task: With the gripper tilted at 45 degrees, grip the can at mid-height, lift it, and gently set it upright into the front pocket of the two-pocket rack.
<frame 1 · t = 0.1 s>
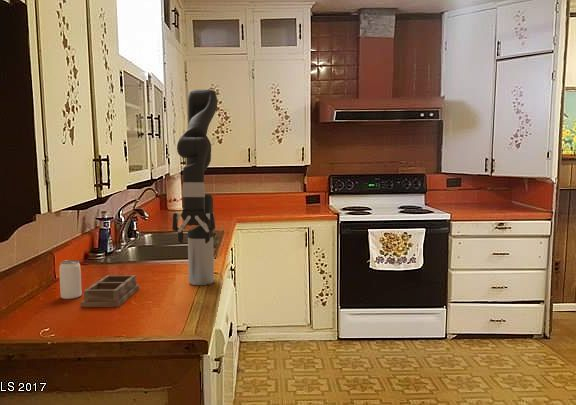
hand: (194, 243, 165), 17 cm above the counter, tool pointing down, fingers open, 8 cm apart
can: (71, 297, 163), on the counter
rack: (111, 297, 162), on the counter
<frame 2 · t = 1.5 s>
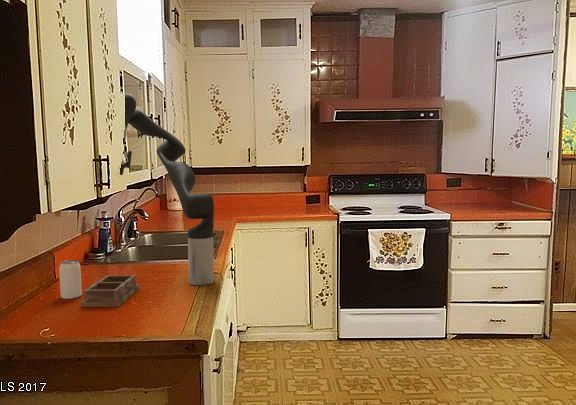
hand: (106, 172, 164), 42 cm above the counter, tool tilted 40°, fingers open, 8 cm apart
nothing on the counter moved.
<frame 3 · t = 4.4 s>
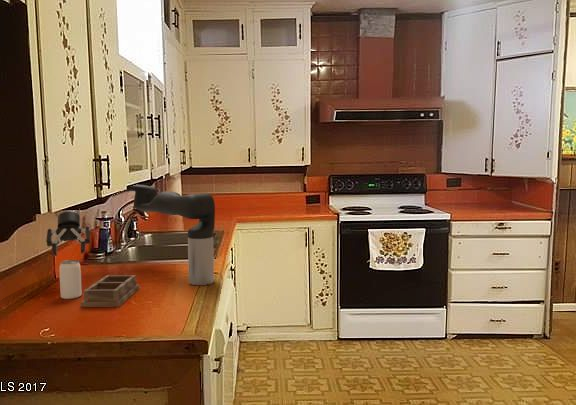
hand: (68, 253, 169), 13 cm above the counter, tool tilted 45°, fingers open, 8 cm apart
nothing on the counter moved.
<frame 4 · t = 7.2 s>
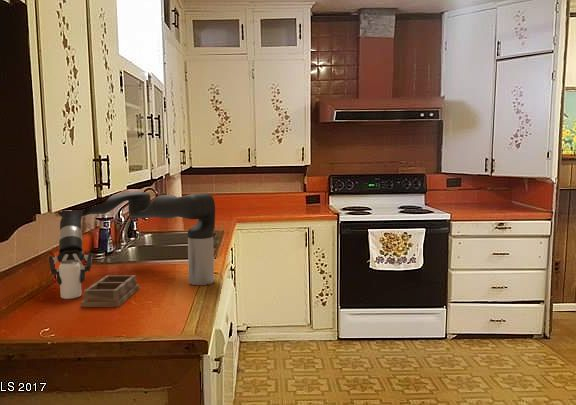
hand: (71, 282, 161), 5 cm above the counter, tool tilted 45°, fingers closed on can, 6 cm apart
can: (71, 297, 163), on the counter, touching gripper
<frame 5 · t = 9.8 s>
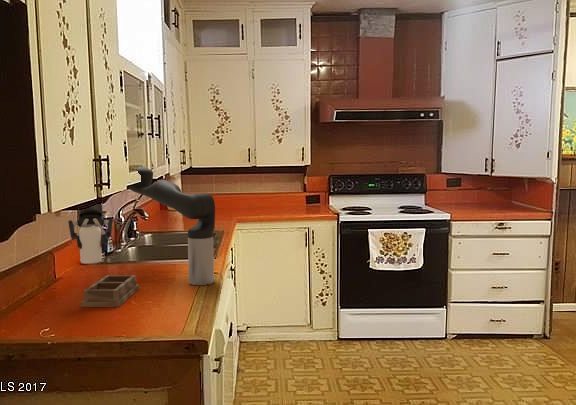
hand: (91, 246, 155), 18 cm above the counter, tool tilted 45°, fingers closed on can, 6 cm apart
can: (91, 262, 157), point 13 cm above the counter, touching gripper
when the fingers open (9 cm above the counter, at t = 12.5 s): can drops 2 cm, resting on rack.
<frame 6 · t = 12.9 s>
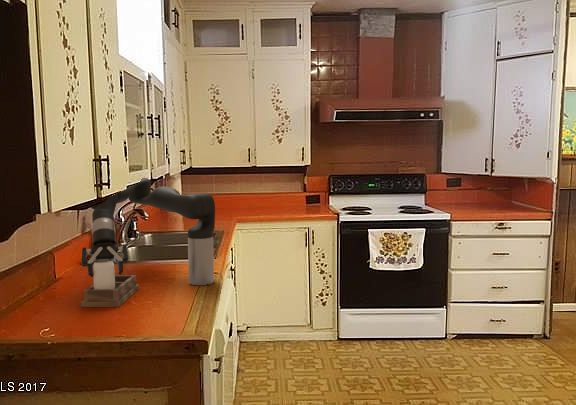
hand: (105, 274, 155), 9 cm above the counter, tool tilted 45°, fingers open, 8 cm apart
can: (105, 297, 157), point 1 cm above the counter, touching rack
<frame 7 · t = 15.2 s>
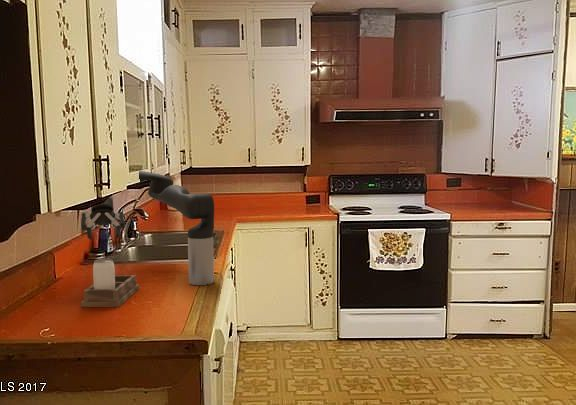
hand: (103, 237, 166), 19 cm above the counter, tool tilted 45°, fingers open, 8 cm apart
nothing on the counter moved.
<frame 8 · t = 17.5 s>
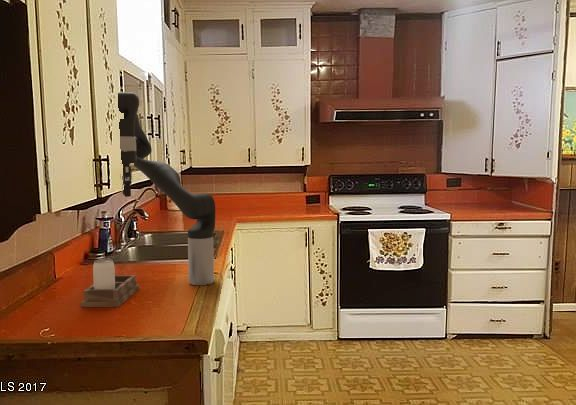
hand: (126, 195, 172), 33 cm above the counter, tool pointing down, fingers open, 8 cm apart
nothing on the counter moved.
at the end: can 0.6 cm from the target spot on the rack, point 1.3 cm above the rack's base; can tilted 0°; the gripper is holding nothing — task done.
